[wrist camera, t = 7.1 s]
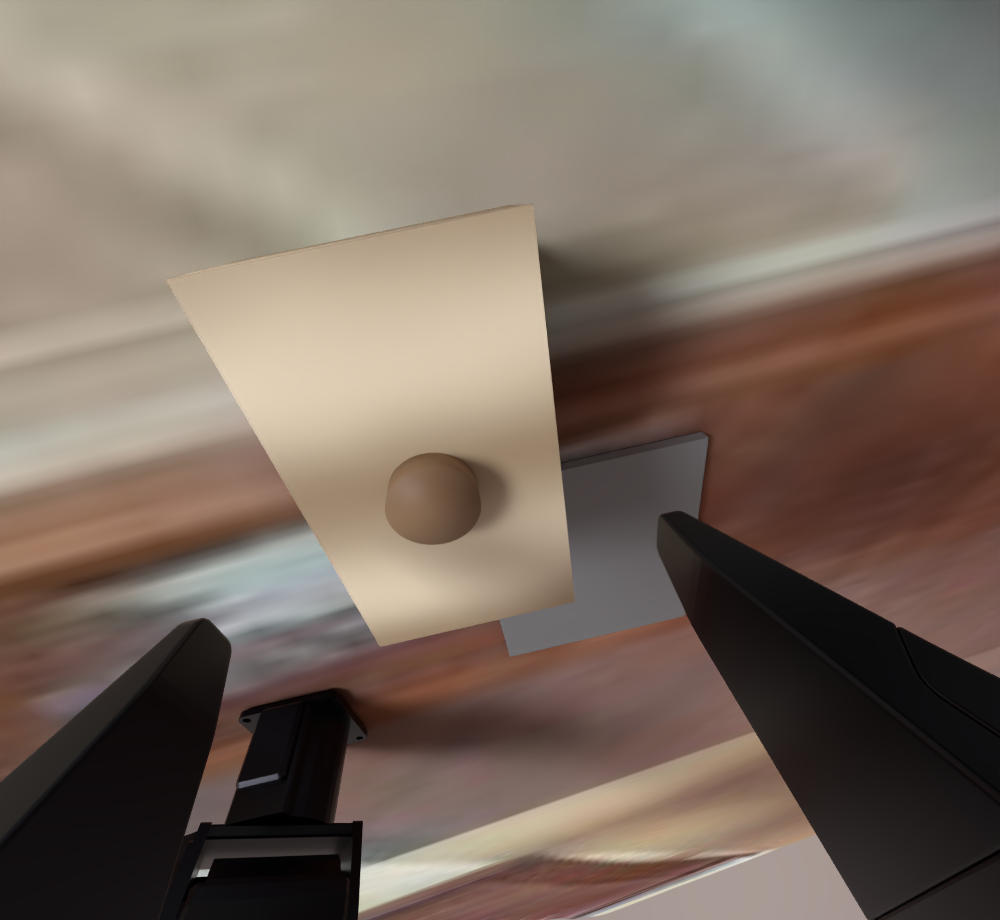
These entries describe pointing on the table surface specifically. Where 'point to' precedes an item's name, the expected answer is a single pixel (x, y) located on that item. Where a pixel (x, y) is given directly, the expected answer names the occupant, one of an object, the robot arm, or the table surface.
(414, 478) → the lid
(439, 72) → the table surface
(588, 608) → the mat
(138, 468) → the table surface
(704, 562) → the robot arm
